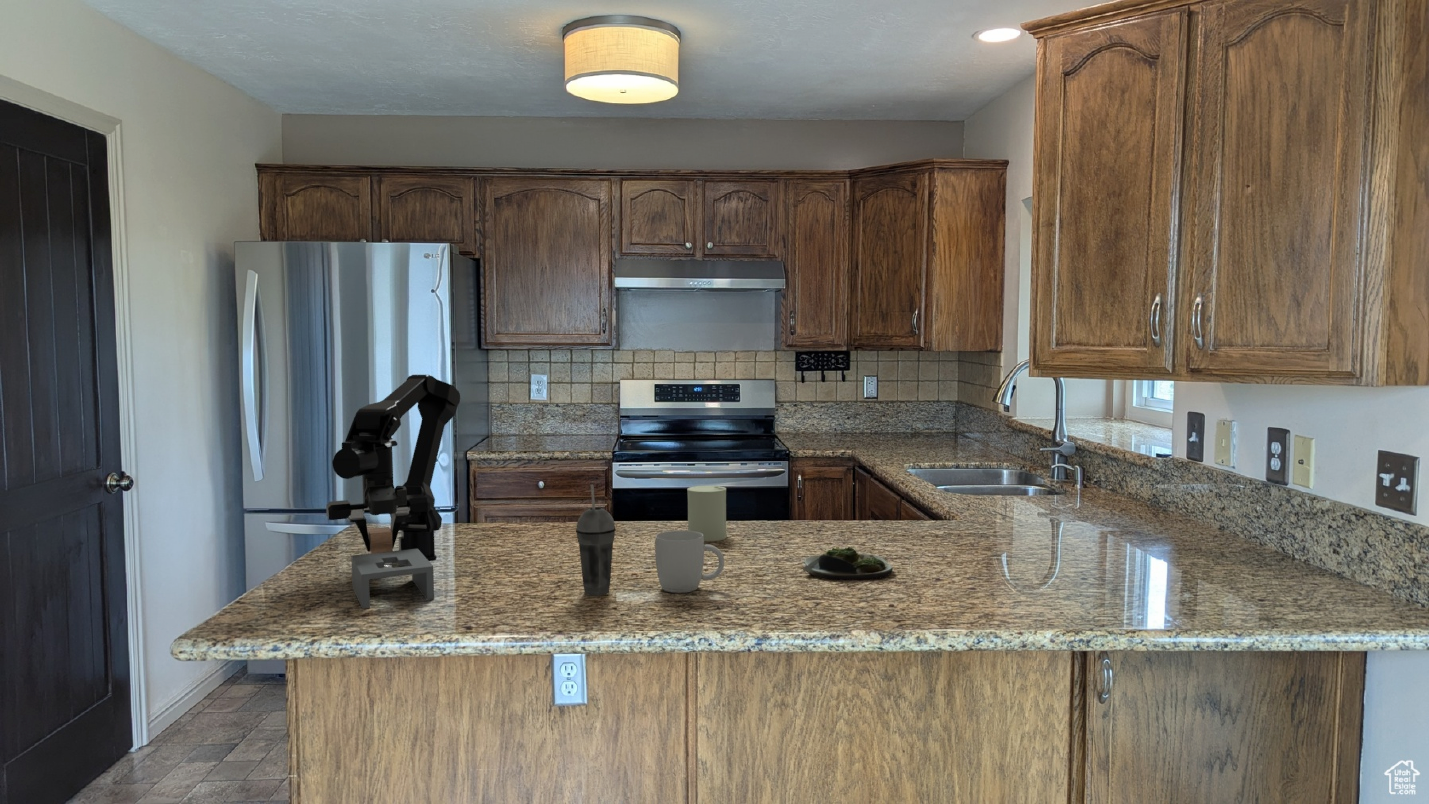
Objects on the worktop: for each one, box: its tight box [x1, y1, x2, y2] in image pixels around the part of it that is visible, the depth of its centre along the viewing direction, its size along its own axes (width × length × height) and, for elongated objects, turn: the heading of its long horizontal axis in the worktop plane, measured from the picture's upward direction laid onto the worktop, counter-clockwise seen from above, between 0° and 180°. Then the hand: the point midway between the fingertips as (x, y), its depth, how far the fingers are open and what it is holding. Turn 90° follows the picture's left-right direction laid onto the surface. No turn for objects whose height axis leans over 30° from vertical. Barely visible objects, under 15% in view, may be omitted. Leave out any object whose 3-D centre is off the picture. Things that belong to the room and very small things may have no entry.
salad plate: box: [802, 546, 893, 581], centre depth 182 cm, size 19×18×5 cm
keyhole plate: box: [351, 549, 435, 610], centre depth 166 cm, size 12×16×6 cm
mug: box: [654, 530, 725, 594], centre depth 167 cm, size 13×9×10 cm
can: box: [686, 485, 728, 543], centre depth 211 cm, size 9×9×12 cm
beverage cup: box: [575, 484, 617, 597], centre depth 165 cm, size 7×7×20 cm
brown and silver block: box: [367, 526, 394, 570], centre depth 179 cm, size 4×5×9 cm
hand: (380, 549), depth 179 cm, fingers closed on brown and silver block, 4 cm apart
